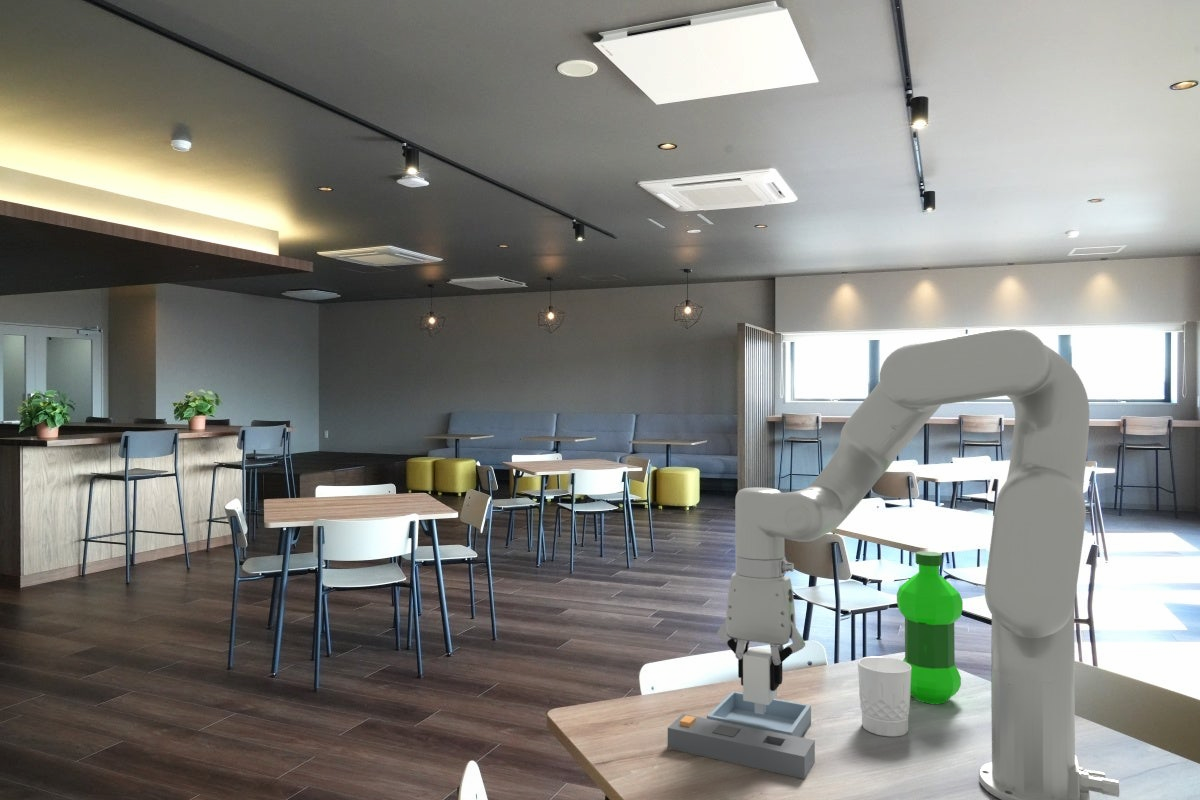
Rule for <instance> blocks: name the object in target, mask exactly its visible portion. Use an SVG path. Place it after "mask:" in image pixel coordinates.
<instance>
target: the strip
mask: <svg viewBox="0 0 1200 800" xmlns="http://www.w3.org/2000/svg"><path fill="white" fill-rule="evenodd" d="M815 744H816V743H815V739H811V738H806V737H797V736H792V735H787V734H782V733H777V732H772V731H767V730H762V729H756V728H751V727H746V726H741V725H736V724H731V723H726V722H721V721H716V720H711V719H707V717H701V716H694V715H691V714H686V713H682V714H681V715H680V716H679V717H677V719H676V720H674V721H673V722H672V723H671V724H670V725H669V726H668V727H667V749H668V748H671V749H670V750H673V749H675V750H674V751H678V752H681V753H682V752H683V753H686V754H687V753H688V754H692V755H695V756H700V757H705V758H709V759H713V760H718V761H721V762H727V763H732V764H736V765H740V766H745V767H747V768H748V767H749V768H753V769H759V770H764V771H766V772H771V773H776V774H781V775H784V776H789V777H793V778H797V779H803V780H805V779H807V778H806V777H807V776H808V775H809V773H810V771H811V769H812V767H813V765H814V764H815V762H816V755H815V754H816V753H815V750H816V745H815Z"/></svg>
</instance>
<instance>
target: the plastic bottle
mask: <svg viewBox="0 0 1200 800" xmlns="http://www.w3.org/2000/svg"><path fill="white" fill-rule="evenodd" d="M914 554H915V564H917V565H918V572H917V573H916V574H914V575H913V576H912V577H910V578H909V579H907V580H906V581H905V582H904V583H903V584H901V585H900V586H899V588H898V590H897V593H896V604H897V608H898V610H899V611H900V613H901V614H902V616H903V617H904V658H903V660H902V661H904V662H906V663H908V664H910V665H911V667H912V669H911V694H910V696H912V697H913V698H914V697H915V698H914V699H915V700H916V699H917V700H916V701H918V700H919V702H921V701H922V702H921V703H924V702H926V703H925V704H929V703H931V704H930V705H942V704H941V703H943V704H945V703H946V702H947V700H950V698H952V697H953V696H956V694H957V693H958V692H959V690H960V688H961V686H962V677H961V675H960V672H959V670H958V668H957V665H955V664H956V663H955V662H956V661H955V659H956V658H955V656H956V655H955V646H956V645H955V622H957V621H958V620H959V619H960V618H961V617H962V613H963V607H964V605H963V599H962V596H961V594H960V592H959V591H958V590H957V589H956V588H955V587H953V585H952V584H951V583H950V582H949V581H947V580H946V579H945V577H943V576H942V575H940V566H943V554H942V553H940V552H935V551H926V550H925V551H924V550H923V551H916V552H915V553H914ZM945 701H946V702H945Z"/></svg>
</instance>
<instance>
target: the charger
mask: <svg viewBox="0 0 1200 800" xmlns="http://www.w3.org/2000/svg"><path fill="white" fill-rule="evenodd" d="M771 664H772V654H771V649H770V648H763V647H755V646H751V647H750V648H749V649H748V651H747V652H746V653H745V654H743V686H742V693H743V701H748V702H754V707H755V713H758V714H764V713H765V712H766V705H769V704H770V703H771V702H772V701H773V700H774V699H776V698H777V696H778V688H777V689H776V690H775V691H771V689H770V665H771Z"/></svg>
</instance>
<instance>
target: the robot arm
mask: <svg viewBox="0 0 1200 800" xmlns="http://www.w3.org/2000/svg"><path fill="white" fill-rule="evenodd" d="M1004 396H1005V397H1008V398H1009V399H1010V401H1011V403H1012V405H1013V408H1014V424H1013V433H1012V440H1011V442H1012V445H1011V455H1010V461H1009V467H1008V473H1007V478H1006V481H1005V483H1004V484H1003V486H1001V489H1000V490H999V492H998V494H997V498H996V503H995V508H994V514H993V522H992V529H991V530H992V531H991V537H990V544H989V545H990V547H989V551H988V553H989V555H988V561H987V568H986V578H985V584H984V597H985V602H986V605H987V608H988V610H989V612H990V615H991V635H990V636H991V647H990V648H991V658H990V659H991V664H990V665H991V666H990V671H991V672H990V673H991V674H990V676H991V679H990V682H991V689H990V690H991V692H990V695H991V698H990V699H991V704H990V706H991V762H987V763H984V764H983V765H982V766H981V767H980V768H979V770H978V779H979V783H980V784H981V786H982V788H983V789H985V790H986V791H987V792H988V793H989V794H991V795H993V796H994V797H995V798H997V799H999V800H1091V797H1090V792H1095V793H1100V794H1102V795H1106V796H1110V797H1115V798H1120V783H1119V780H1117V779H1111V778H1106V773H1105V772H1103V771H1098V770H1090V769H1084V766H1082V765H1081V766H1080V765H1079V762H1078V757H1077V756H1078V755H1076V733H1075V732H1076V730H1075V728H1076V727H1075V726H1076V725H1075V724H1076V723H1075V722H1076V721H1075V720H1076V719H1075V717H1076V715H1075V714H1076V712H1075V711H1076V709H1075V708H1076V707H1075V705H1076V703H1075V701H1076V700H1075V677H1076V676H1075V673H1076V670H1075V667H1076V666H1075V665H1076V664H1075V659H1076V657H1075V600H1076V595H1077V587H1078V579H1079V572H1080V566H1081V565H1080V564H1081V557H1082V551H1083V542H1084V536H1085V529H1086V517H1087V508H1086V500H1085V495H1084V482H1085V475H1086V474H1085V472H1086V466H1087V457H1088V455H1087V454H1088V444H1089V443H1088V440H1089V433H1090V432H1089V431H1090V404H1089V399H1088V394H1087V391H1086V387H1085V386H1084V383H1083V381H1082V379H1081V377H1080V375H1079V374H1078V373H1077V371H1076V370H1075V368H1074V367H1073V366H1072V364H1070V362H1068V361H1067V360H1066V358H1064V357H1063V356H1062V355H1060V354H1059V353H1058V352H1056V351H1055V350H1054V349H1052V348H1050V347H1049V346H1047V345H1046V344H1044V342H1043V341H1042V340H1041V339H1040V338H1039V337H1038V336H1036V335H1035V334H1034V333H1032V332H1031V331H1028V330H1025V329H1023V328H1018V327H999V328H993V329H987V330H983V331H977V332H972V333H967V334H962V335H955V336H952V337H947V338H942V339H941V338H939V339H934V340H929V341H923V342H918V343H913V344H912V343H911V344H907V345H904V346H901V347H899V348H897V349H896V350H894V351H892V352H891V353H890V354H889V355H888V356H887V357H886V358H885V360H884V361H883V363H882V366H881V367H880V372H879V382H877V384H876V385H875V387H874V388H873V389H872V391H871V392H870V393H869V394H868V395H867V397H865V399H864V400H863V402H862V403H861V404H860V405H859V406H858V407H857V409H855V411H854V412H853V413H852V414H851V416H850V417H849V418H848V419H847V420H846V422H844V423H845V424H844V425H843V426H842V429H841V431H840V437H839V444H838V446H837V448H836V450H835V452H834V454H833V456H832V457H831V459H830V460H829V461H828V463H827V464H826V466H825V467H824V468H823V469H822V470H821V472H820V473H819V474H818V475H817V477H816V478H815V479H814V480H813V481H812V483H811V484H809V486H808V487H806V488H803V489H800V490H796V491H789V492H782V491H780V490H779V489H776V488H772V487H771V488H770V487H761V486H760V487H757V486H756V487H744V488H741V489H739V490H738V491H737V493H736V495H735V500H734V501H735V504H734V506H735V509H734V510H735V514H734V515H735V516H734V517H735V518H734V521H735V534H734V537H735V538H734V539H735V544H734V545H735V571H734V572H733V573H732V574H731V576H730V581H729V587H728V594H727V601H726V602H727V603H726V615H725V618H726V619H725V620H724V621H723V623H722V624H721V626H720V628H719V629H718V631H717V633H716V637H718V638H719V639H720V640H721V641H722V642H724V643H725V644H727V646H728V648H729V649H730V650H731V651H732V652H733V654H734V655H735V656H734V657H735V658H736V659H737V665H738V666H737V667H738V668H737V669H738V671H737V675H738V678H739V679H740V685H741V686H742V687H743V654H745V653H746V652H747V651H748V650H749V649H750V648H749V647H750V642H753V643H758V644H759V643H760V644H765V645H766V644H767V645H769V646H770V648H769V649H770V650H771V654H772V664H771V665H770V689H771V691H775V690H776V689H777V690H778V687H780V685H782V683H783V662H784V661H785V660H786V659H788V658H789V657H790V656H791V655H792V654H796V653H797V652H799V651H801V650H803V649H804V648H805V647H806V642H805V640H804V638H803V637H802V635H801V633H800V631H799V630H798V628H797V627H796V625H797V624H796V611H795V607H796V606H795V599H794V591H793V585H792V581H791V576H787V575H786V574H787V573H789V572H790V573H793V572H794V571H795V563H793V562H789V561H787V559H786V558H787V556H785V555H786V553H785V539H787V540H789V541H790V540H791V541H795V542H801V543H802V542H807V543H808V542H812V541H815V540H818V539H820V538H822V537H823V536H824V535H826V534H829V533H831V532H833V531H834V530H836V529H837V528H838V527H839V526H840V525H842V523H843V522H844V521H845V520H846V519H847V518H848V516H849V515H850V514H851V512H853V511H854V509H855V508H856V507H857V506H858V505H859V504H860V502H861V501H862V500H863V499H864V497H866V495H867V494H868V493H869V492H870V490H872V488H873V487H874V485H875V484H876V483H877V481H878V480H879V479H880V478H881V477H882V476H883V475H884V474H885V473H886V472H887V471H888V468H890V466H891V464H892V463H893V462H894V461H895V460H896V458H898V456H899V455H900V454H901V452H902V451H904V450H905V448H906V446H907V445H908V444H909V443H910V442H911V441H912V439H914V437H915V436H916V435H917V434H918V432H919V431H920V430H921V429H922V428H923V427H924V425H925V424H926V423H927V422H928V421H929V420H930V419H931V418H932V417H933V416H934V414H936V412H937V411H938V409H940V407H941V406H942V405H949V404H956V403H962V402H971V401H977V400H984V399H989V398H999V397H1004ZM790 640H791V641H792V643H791V644H788V643H789V642H790ZM786 644H788V645H786ZM785 645H786V646H785ZM784 646H785V647H784Z"/></svg>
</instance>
